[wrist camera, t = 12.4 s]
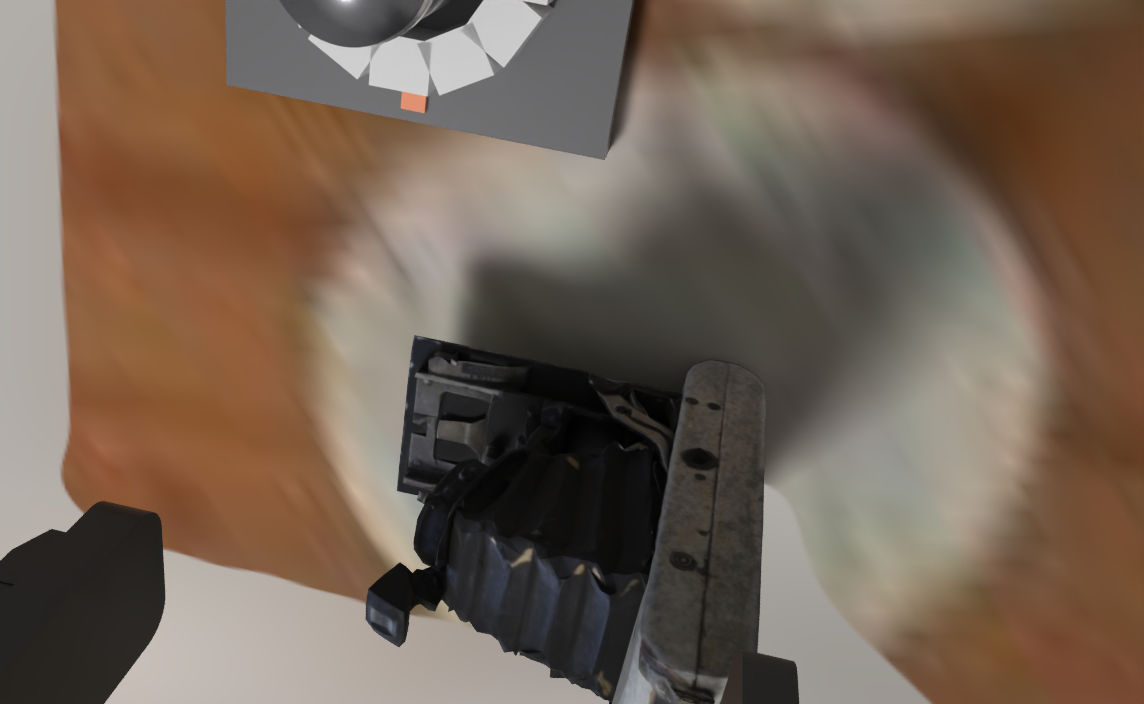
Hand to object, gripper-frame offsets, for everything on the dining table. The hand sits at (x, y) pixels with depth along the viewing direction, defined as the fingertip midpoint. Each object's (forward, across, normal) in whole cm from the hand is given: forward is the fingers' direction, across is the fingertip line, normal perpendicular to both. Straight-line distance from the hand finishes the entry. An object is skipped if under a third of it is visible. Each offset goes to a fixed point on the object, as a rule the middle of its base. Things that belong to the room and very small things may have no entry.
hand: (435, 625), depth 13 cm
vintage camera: (+30, 0, +15) cm, 34 cm away
